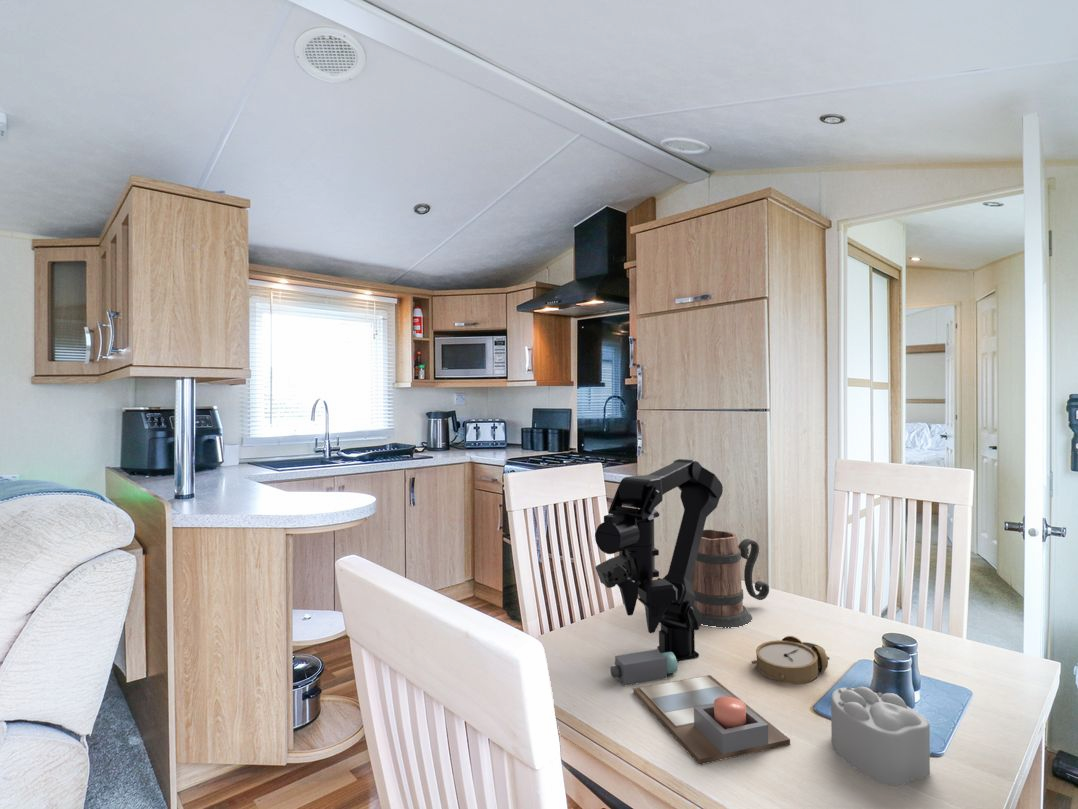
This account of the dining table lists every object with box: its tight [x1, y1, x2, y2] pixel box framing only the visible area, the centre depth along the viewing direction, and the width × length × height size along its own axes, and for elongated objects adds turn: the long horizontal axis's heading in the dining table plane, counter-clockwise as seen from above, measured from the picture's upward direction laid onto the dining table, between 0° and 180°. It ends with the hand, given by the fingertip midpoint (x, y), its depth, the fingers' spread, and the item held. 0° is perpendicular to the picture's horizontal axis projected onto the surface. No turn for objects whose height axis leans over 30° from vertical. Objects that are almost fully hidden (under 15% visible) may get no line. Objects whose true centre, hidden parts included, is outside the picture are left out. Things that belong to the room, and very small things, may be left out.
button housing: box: [694, 703, 768, 754], centre depth 93 cm, size 8×8×3 cm
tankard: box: [691, 529, 770, 629], centre depth 146 cm, size 24×17×20 cm
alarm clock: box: [751, 635, 830, 684], centre depth 117 cm, size 11×5×15 cm
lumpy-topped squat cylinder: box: [830, 686, 931, 787], centre depth 88 cm, size 10×13×9 cm
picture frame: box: [633, 674, 791, 765], centre depth 100 cm, size 16×22×1 cm
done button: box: [714, 697, 746, 729], centre depth 93 cm, size 5×5×3 cm
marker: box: [610, 649, 679, 687], centre depth 114 cm, size 13×4×4 cm, turn 107°
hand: (640, 623), depth 114 cm, fingers open, 9 cm apart
